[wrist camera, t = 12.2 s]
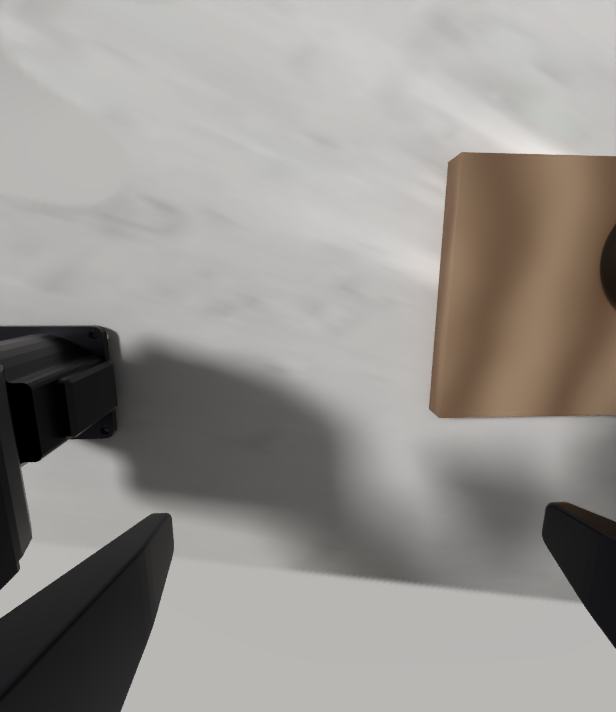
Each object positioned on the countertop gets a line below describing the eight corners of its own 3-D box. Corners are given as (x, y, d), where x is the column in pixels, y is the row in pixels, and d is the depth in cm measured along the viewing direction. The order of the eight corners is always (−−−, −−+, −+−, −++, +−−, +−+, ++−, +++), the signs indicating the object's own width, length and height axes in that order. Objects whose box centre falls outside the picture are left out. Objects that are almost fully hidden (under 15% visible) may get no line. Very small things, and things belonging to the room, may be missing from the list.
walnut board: (428, 408, 22) (439, 417, 20) (448, 162, 19) (461, 152, 18) (671, 404, 23) (698, 413, 21) (724, 169, 20) (759, 160, 19)
